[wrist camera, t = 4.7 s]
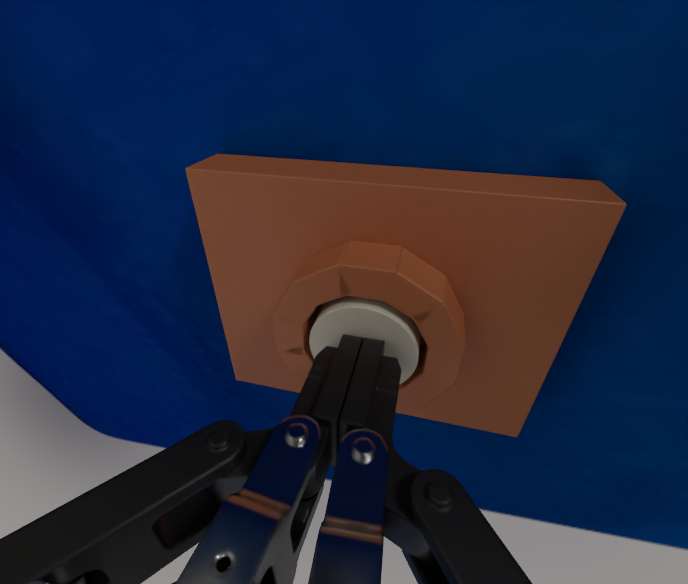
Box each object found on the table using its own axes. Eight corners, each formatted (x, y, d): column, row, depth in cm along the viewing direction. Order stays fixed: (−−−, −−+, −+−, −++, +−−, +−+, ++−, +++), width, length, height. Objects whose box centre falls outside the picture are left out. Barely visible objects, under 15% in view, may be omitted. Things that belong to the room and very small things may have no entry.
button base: (253, 351, 21) (218, 407, 17) (216, 153, 14) (149, 183, 11) (511, 399, 18) (524, 476, 15) (601, 180, 12) (658, 230, 9)
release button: (323, 350, 16) (311, 380, 14) (320, 273, 14) (305, 299, 12) (415, 366, 15) (411, 399, 14) (428, 287, 13) (425, 317, 11)
